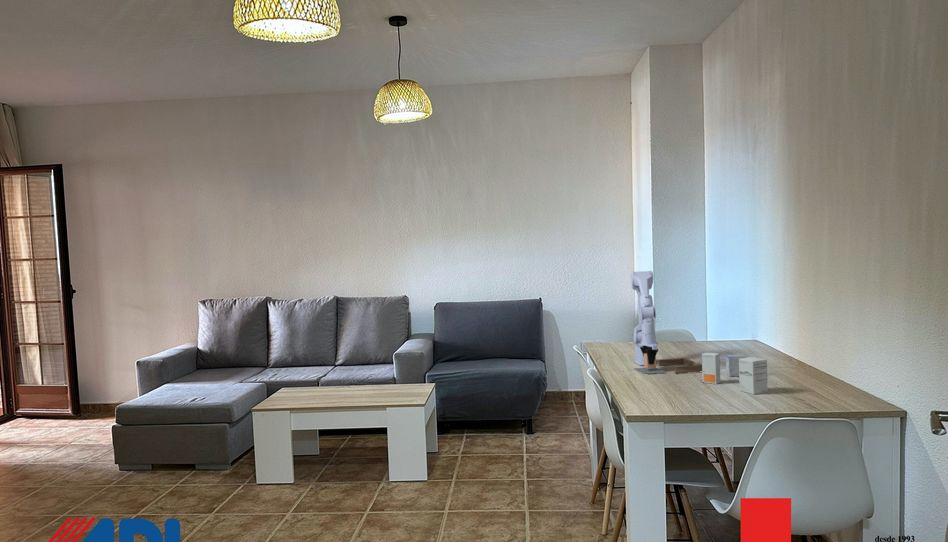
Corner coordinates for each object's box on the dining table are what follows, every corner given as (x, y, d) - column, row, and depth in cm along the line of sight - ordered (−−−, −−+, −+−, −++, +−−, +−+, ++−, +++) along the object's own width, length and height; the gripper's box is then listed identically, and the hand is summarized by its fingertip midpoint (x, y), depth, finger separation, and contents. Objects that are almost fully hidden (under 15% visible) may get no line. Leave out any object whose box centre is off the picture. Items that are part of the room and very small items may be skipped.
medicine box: (745, 374, 297) (744, 354, 297) (748, 376, 293) (747, 356, 292) (726, 375, 298) (725, 355, 297) (729, 377, 293) (728, 356, 293)
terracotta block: (644, 366, 315) (643, 353, 314) (652, 366, 315) (652, 352, 315) (647, 368, 311) (647, 354, 311) (656, 367, 311) (655, 354, 311)
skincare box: (702, 382, 285) (701, 353, 284) (706, 381, 288) (705, 352, 287) (716, 384, 281) (715, 354, 280) (721, 382, 284) (720, 353, 283)
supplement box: (738, 391, 267) (738, 358, 267) (753, 388, 270) (752, 356, 270) (753, 394, 260) (752, 361, 260) (768, 392, 263) (767, 359, 263)
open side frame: (658, 366, 323) (658, 360, 323) (685, 364, 325) (684, 358, 325) (675, 373, 305) (675, 367, 305) (703, 371, 306) (703, 365, 306)
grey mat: (633, 369, 319) (633, 368, 319) (654, 368, 320) (654, 366, 320) (644, 374, 306) (644, 373, 306) (666, 373, 307) (666, 372, 307)
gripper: (663, 334, 306) (664, 365, 306) (650, 330, 320) (651, 360, 321) (648, 335, 305) (649, 366, 305) (636, 331, 319) (637, 361, 320)
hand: (649, 363), depth 313 cm, fingers closed on terracotta block, 4 cm apart
